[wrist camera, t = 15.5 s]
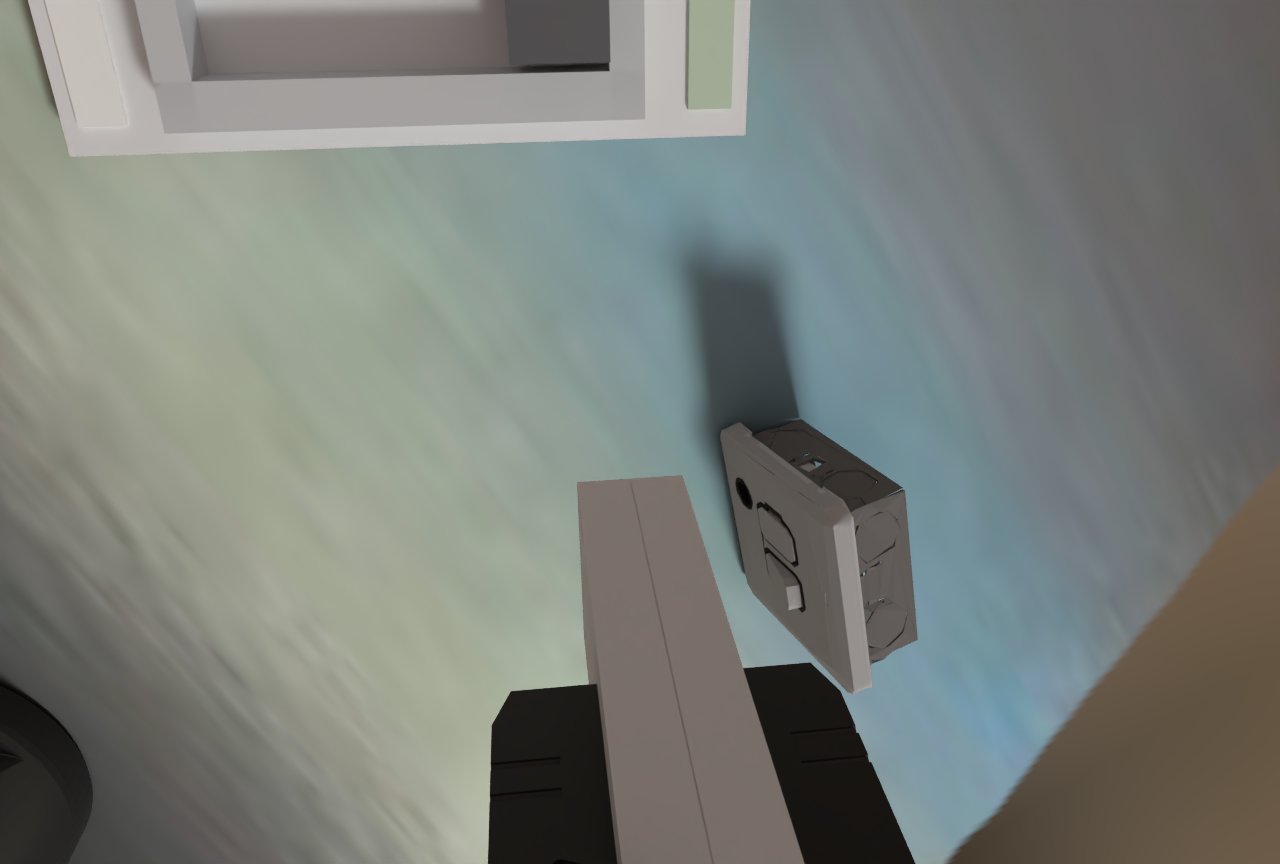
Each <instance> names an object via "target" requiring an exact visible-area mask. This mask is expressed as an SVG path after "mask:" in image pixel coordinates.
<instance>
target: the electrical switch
mask: <svg viewBox="0 0 1280 864" xmlns="http://www.w3.org/2000/svg"><path fill="white" fill-rule="evenodd" d="M720 439H721V445H722V450H723V456H724V461H725V466H726V472H727V477H728V482H729V488H730V493H731V499H732V504H733V509H734V515H735V520H736V526H737V531H738V536H739V542H740V547H741V552H742V558H743V563H744V569H745V574H746V578H747V582H748V585H749V587H750V588H751V590H752V592H753V594H754V595H755V596H756V597H757V598H758V599H759V600H760V602H761V603H762V604H763V605H764V606H765V607H766V608H767V609H768V610H769V611H770V612H771V613H772V614H773V615H774V616H775V617H776V618H777V619H778V620H779V621H780V623H781V624H782V625H783V626H784V627H785V628H786V629H787V630H788V631H789V632H790V633H791V634H792V635H793V636H794V637H795V638H796V639H797V640H798V641H799V642H800V643H801V644H802V645H803V646H804V647H805V648H806V649H807V651H808V652H809V653H810V654H811V655H812V656H813V657H814V658H815V659H816V660H817V661H818V662H819V663H820V664H821V665H822V666H823V667H824V668H825V669H826V670H827V671H828V672H829V673H830V674H831V675H832V676H833V677H834V678H835V680H836V681H837V682H838V683H839V684H840V685H841V686H842V687H843V688H844V689H845V690H846V691H847V692H849V693H851V694H854V693H856V692H859V691H861V690H863V689H866V688H869V687H872V679H871V670H870V665H871V664H872V663H875V662H877V661H880V660H883V659H884V658H885V657H886V656H888V655H889V654H890V653H891V652H892V651H894V650H896V649H898V648H901V647H903V646H905V645H907V644H909V643H911V642H914V641H916V640H918V638H917V626H916V615H915V603H914V591H913V580H912V568H911V556H910V545H909V533H908V521H907V510H906V498H905V490H900V491H898V492H896V493H894V494H892V493H893V492H895V491H897V490H899V489H901V488H902V487H901V486H899V485H898V484H896V483H895V482H893V481H892V480H890V479H889V478H887V477H886V476H884V475H883V474H881V473H880V472H878V471H877V470H875V469H874V468H873V467H871V466H870V465H868V464H867V463H865V462H864V461H862V460H861V459H859V458H858V457H856V456H855V455H853V454H852V453H850V452H849V451H847V450H846V449H844V448H843V447H841V446H840V445H838V444H837V443H835V442H834V441H832V440H831V439H829V438H828V437H826V436H825V435H823V434H822V433H820V432H819V431H817V430H816V429H814V428H813V427H811V426H810V425H809V424H807V423H806V422H804V421H803V420H801V419H799V420H797V421H794V422H792V423H789V424H786V425H784V426H781V427H779V428H775V429H769V430H764V431H762V432H760V433H758V434H755V435H752V432H751V431H750V430H749V429H748V428H746V427H745V426H744V425H743V424H742V423H741V422H739V423H736V424H734V425H732V426H730V427H728V428H726V429H724V430H722V431H721V434H720ZM808 453H810V454H809V455H807V456H806V457H804V454H808ZM814 461H816V462H819V463H821V464H822V465H820V466H819V467H816V466H815V463H814ZM876 481H877V483H876ZM890 494H891V495H890ZM888 495H889V496H888ZM886 496H887V497H886ZM884 497H885V498H884ZM896 517H898V519H897V518H896ZM881 561H882V562H881ZM880 562H881V563H880ZM864 571H865V574H866V575H865V576H863V572H864ZM885 597H886V598H885ZM882 598H884V599H882ZM879 599H882V600H880V601H879ZM907 613H908V614H907ZM906 614H907V616H906Z"/></svg>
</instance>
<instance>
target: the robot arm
mask: <svg viewBox="0 0 1280 864" xmlns="http://www.w3.org/2000/svg"><path fill="white" fill-rule="evenodd" d="M577 491H578V513H579V535H580V557H581V579H582V601H583V623H584V640H585V650H586V660H587V670H588V679H589V685H578V686H567V687H556V688H544V689H533V690H521V691H511V692H510V694H509V696H508V698H507V699H506V701H505V703H504V705H503V706H502V708H501V710H500V712H499V714H498V715H497V717H496V719H495V721H494V722H493V724H492V739H491V775H490V812H489V849H488V864H915V862H914V859H913V857H912V855H911V852H910V850H909V848H908V846H907V843H906V841H905V839H904V836H903V834H902V832H901V829H900V827H899V825H898V823H897V820H896V818H895V816H894V813H893V811H892V809H891V806H890V804H889V802H888V800H887V797H886V795H885V793H884V790H883V788H882V786H881V783H880V781H879V779H878V777H877V774H876V772H875V770H874V767H873V765H872V763H871V762H869V760H868V754H867V751H866V749H865V747H864V744H863V742H862V740H861V738H860V735H859V733H856V729H855V724H854V721H853V719H852V717H851V715H850V712H849V710H848V708H847V705H846V703H845V701H844V698H843V696H842V694H841V692H840V690H839V689H838V688H837V687H835V686H834V685H833V684H832V683H831V682H830V681H829V680H828V679H827V678H826V677H825V676H824V675H823V674H822V673H821V672H820V671H819V670H818V669H816V668H815V667H814V666H813V665H812V664H811V663H800V664H788V665H777V666H765V667H754V668H743V667H742V664H741V660H740V657H739V654H738V651H737V648H736V644H735V641H734V638H733V635H732V632H731V629H730V625H729V622H728V619H727V616H726V613H725V610H724V606H723V603H722V600H721V597H720V594H719V591H718V587H717V584H716V581H715V578H714V575H713V571H712V568H711V565H710V562H709V559H708V556H707V552H706V549H705V546H704V543H703V540H702V537H701V533H700V530H699V527H698V524H697V521H696V518H695V514H694V511H693V508H692V505H691V502H690V498H689V495H688V492H687V489H686V486H685V483H684V479H683V476H682V475H680V476H665V477H650V478H635V479H620V480H605V481H590V482H577ZM92 799H93V792H92V783H91V778H90V775H89V771H88V768H87V766H86V764H85V761H84V759H83V757H82V755H81V753H80V752H79V750H78V748H77V747H76V745H75V744H74V742H73V741H72V740H71V739H70V737H69V736H68V735H67V734H66V733H65V731H64V730H63V729H62V728H61V727H60V726H59V725H58V724H57V723H56V722H55V721H54V720H53V719H52V718H50V717H49V716H48V715H47V714H46V713H44V712H43V711H42V710H40V709H39V708H38V707H36V706H35V705H34V704H32V703H31V702H29V701H28V700H26V699H24V698H23V697H21V696H19V695H18V694H16V693H14V692H12V691H10V690H8V689H6V688H4V687H2V686H0V864H67V863H68V862H69V860H70V858H71V856H72V854H73V852H74V850H75V848H76V846H77V844H78V842H79V839H80V837H81V835H82V833H83V831H84V829H85V827H86V825H87V822H88V820H89V817H90V813H91V809H92Z"/></svg>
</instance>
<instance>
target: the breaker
mask: <svg viewBox="0 0 1280 864" xmlns="http://www.w3.org/2000/svg"><path fill="white" fill-rule="evenodd" d="M505 5H506V20H507V35H508V50H509V65H524V64H566V63H608V62H611V60H610V15H609V0H505Z"/></svg>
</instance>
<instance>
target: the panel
mask: <svg viewBox="0 0 1280 864" xmlns="http://www.w3.org/2000/svg"><path fill="white" fill-rule="evenodd" d="M28 3H29V6H30V10H31V14H32V17H33V21H34V25H35V28H36V32H37V36H38V39H39V43H40V47H41V50H42V54H43V58H44V62H45V65H46V69H47V73H48V76H49V80H50V84H51V87H52V91H53V95H54V98H55V102H56V106H57V109H58V113H59V117H60V121H61V124H62V128H63V132H64V135H65V139H66V143H67V146H68V150H69V154H70V157H73V156H104V155H136V154H167V153H199V152H230V151H261V150H293V149H324V148H356V147H387V146H419V145H450V144H481V143H513V142H544V141H576V140H607V139H638V138H670V137H701V136H733V135H745V129H746V103H747V76H748V50H749V24H750V0H609V15H610V60H611V62H608V63H566V64H524V65H509V50H508V35H507V20H506V5H505V0H28Z"/></svg>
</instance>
